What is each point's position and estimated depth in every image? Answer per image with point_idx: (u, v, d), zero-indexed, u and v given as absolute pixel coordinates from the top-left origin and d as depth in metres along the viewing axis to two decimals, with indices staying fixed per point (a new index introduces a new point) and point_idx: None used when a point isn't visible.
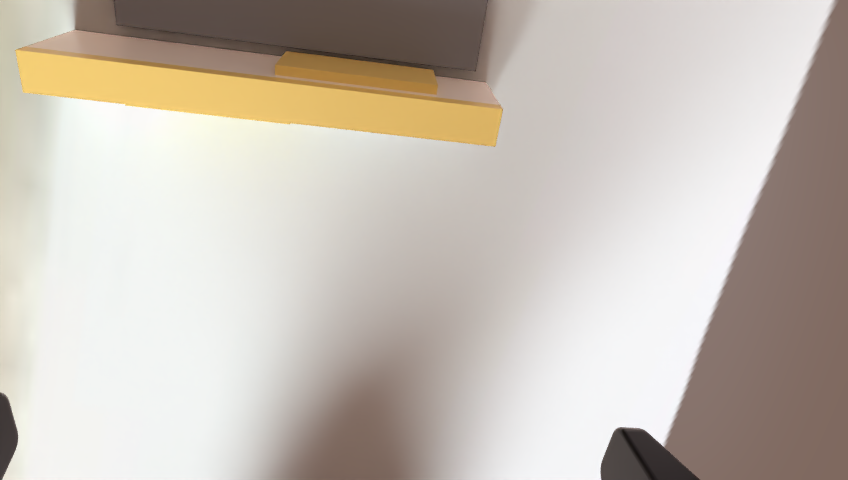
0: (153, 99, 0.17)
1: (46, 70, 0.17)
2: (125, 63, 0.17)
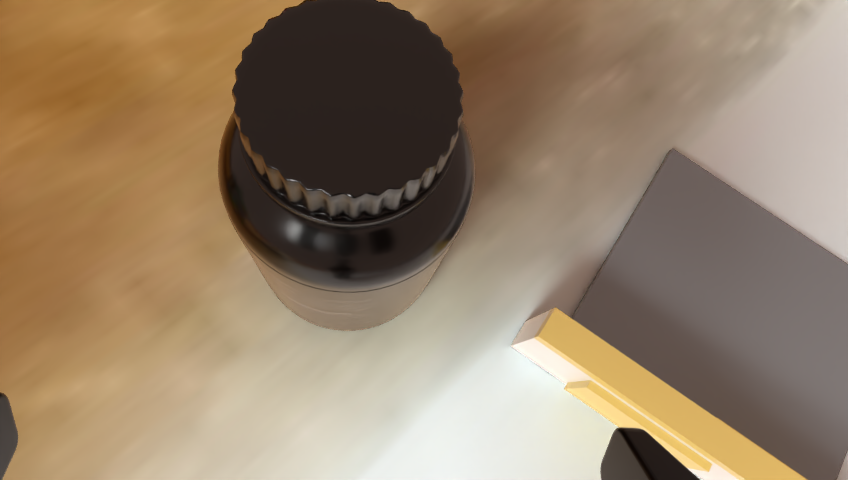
0: (631, 393, 0.20)
1: (566, 331, 0.20)
2: (626, 357, 0.20)
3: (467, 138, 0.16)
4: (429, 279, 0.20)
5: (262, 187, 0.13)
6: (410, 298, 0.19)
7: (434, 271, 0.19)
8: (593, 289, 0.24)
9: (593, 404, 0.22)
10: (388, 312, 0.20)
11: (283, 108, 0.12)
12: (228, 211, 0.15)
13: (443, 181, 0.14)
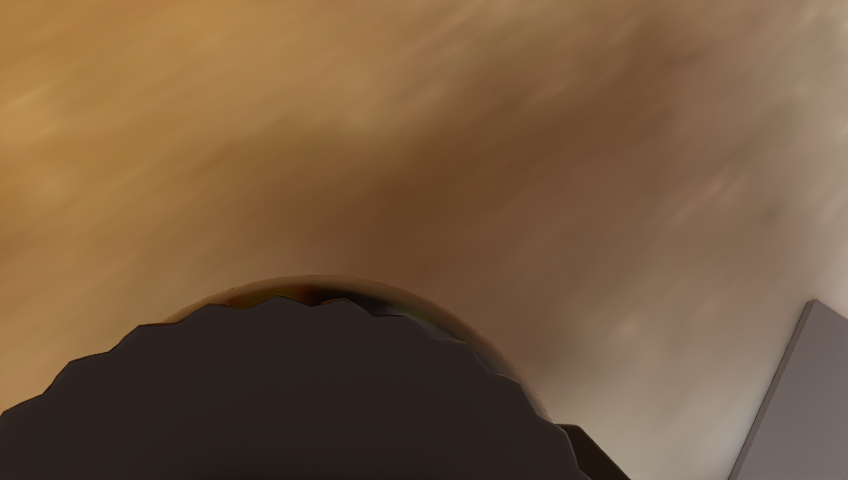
0: None
1: None
2: None
3: None
4: None
5: None
6: None
7: None
8: None
9: None
10: None
11: None
12: None
13: None
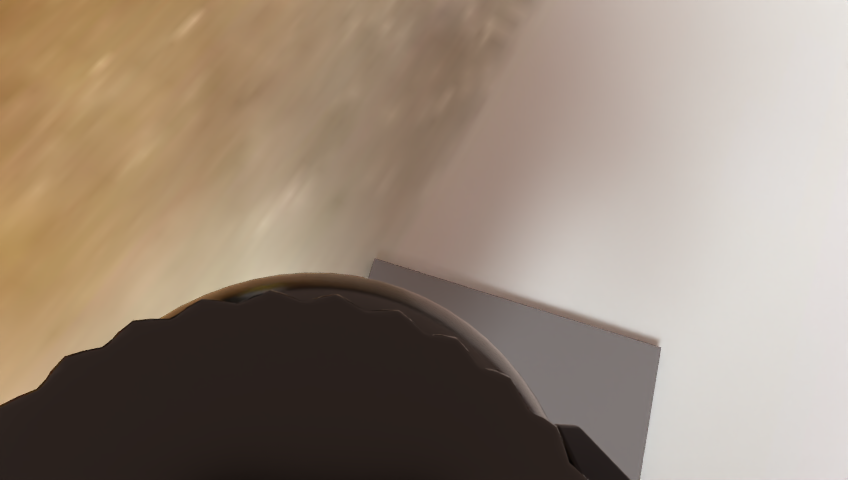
0: None
1: None
2: None
3: None
4: None
5: None
6: None
7: None
8: None
9: None
10: None
11: None
12: None
13: None
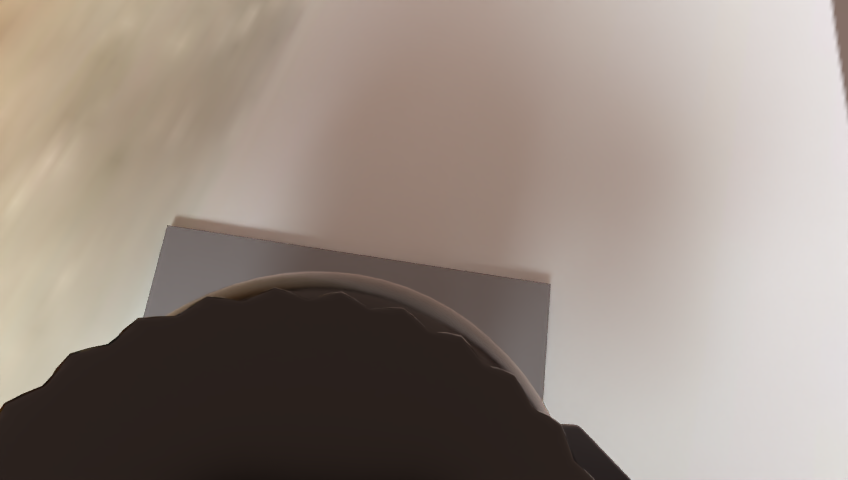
0: None
1: None
2: None
3: None
4: None
5: None
6: None
7: None
8: None
9: None
10: None
11: None
12: None
13: None
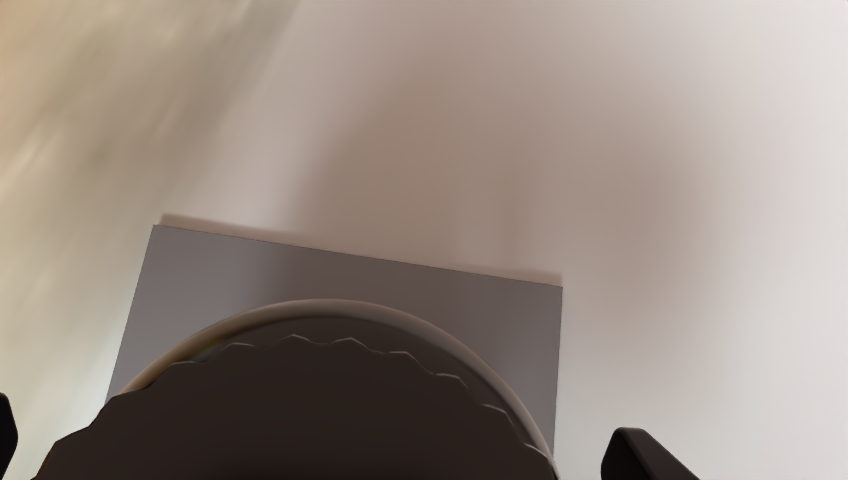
0: None
1: None
2: None
3: None
4: None
5: None
6: None
7: None
8: None
9: None
10: None
11: None
12: None
13: None
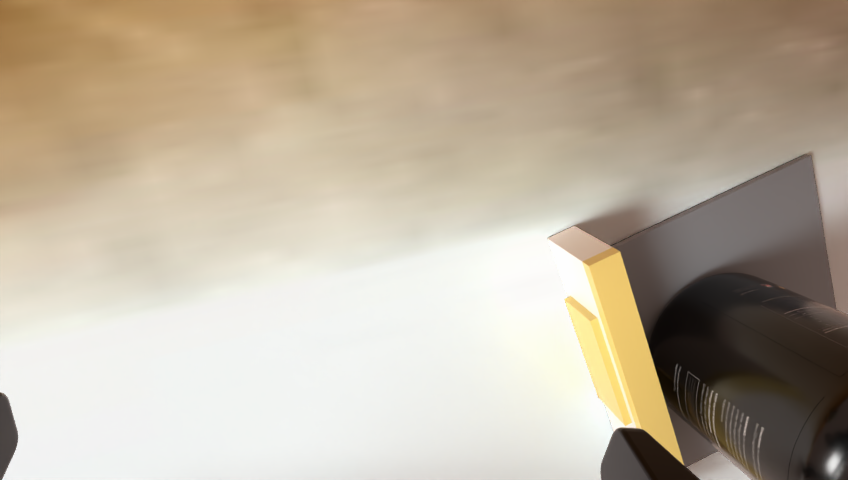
0: (622, 350, 0.21)
1: (613, 275, 0.20)
2: (640, 322, 0.21)
3: None
4: None
5: None
6: None
7: None
8: (647, 235, 0.24)
9: (579, 326, 0.23)
10: None
11: None
12: (833, 416, 0.17)
13: None
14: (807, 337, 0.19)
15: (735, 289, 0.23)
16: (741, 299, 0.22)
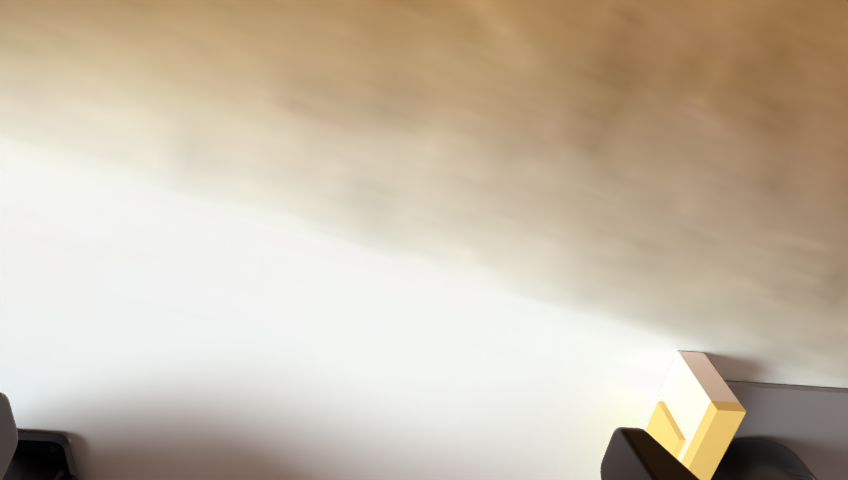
0: None
1: (727, 424, 0.23)
2: (718, 463, 0.24)
3: None
4: None
5: None
6: None
7: None
8: (749, 389, 0.26)
9: (656, 429, 0.26)
10: None
11: None
12: None
13: None
14: None
15: (789, 469, 0.26)
16: None
